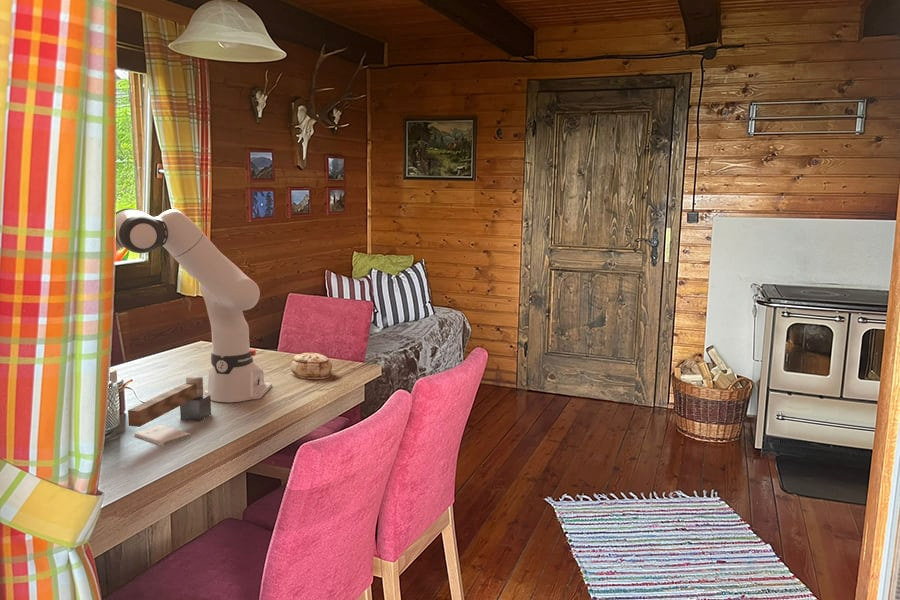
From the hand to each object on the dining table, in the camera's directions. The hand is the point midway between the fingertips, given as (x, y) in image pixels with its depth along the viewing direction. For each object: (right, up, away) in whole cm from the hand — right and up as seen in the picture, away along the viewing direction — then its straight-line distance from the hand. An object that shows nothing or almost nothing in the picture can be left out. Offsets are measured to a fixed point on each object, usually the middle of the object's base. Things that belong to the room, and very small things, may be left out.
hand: (109, 386), depth 188 cm
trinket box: (+40, -4, +64) cm, 76 cm away
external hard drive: (+13, -14, +2) cm, 20 cm away
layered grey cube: (+17, -11, +17) cm, 26 cm away
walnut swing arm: (+14, -6, +4) cm, 16 cm away
